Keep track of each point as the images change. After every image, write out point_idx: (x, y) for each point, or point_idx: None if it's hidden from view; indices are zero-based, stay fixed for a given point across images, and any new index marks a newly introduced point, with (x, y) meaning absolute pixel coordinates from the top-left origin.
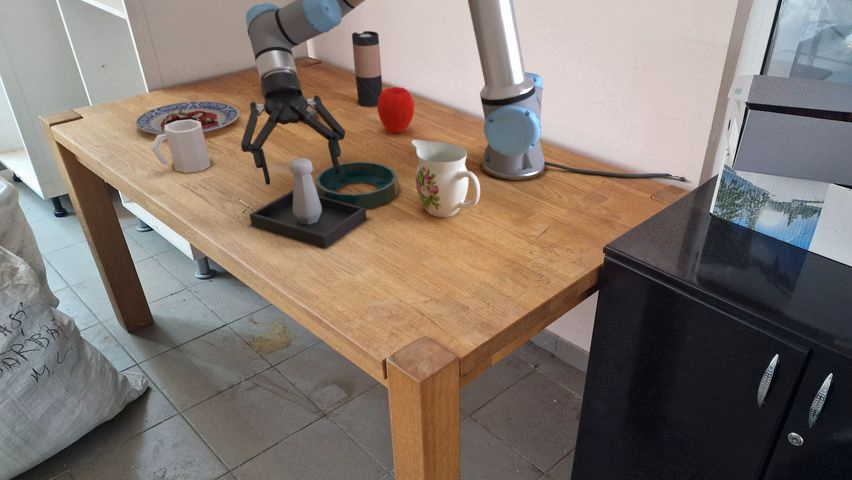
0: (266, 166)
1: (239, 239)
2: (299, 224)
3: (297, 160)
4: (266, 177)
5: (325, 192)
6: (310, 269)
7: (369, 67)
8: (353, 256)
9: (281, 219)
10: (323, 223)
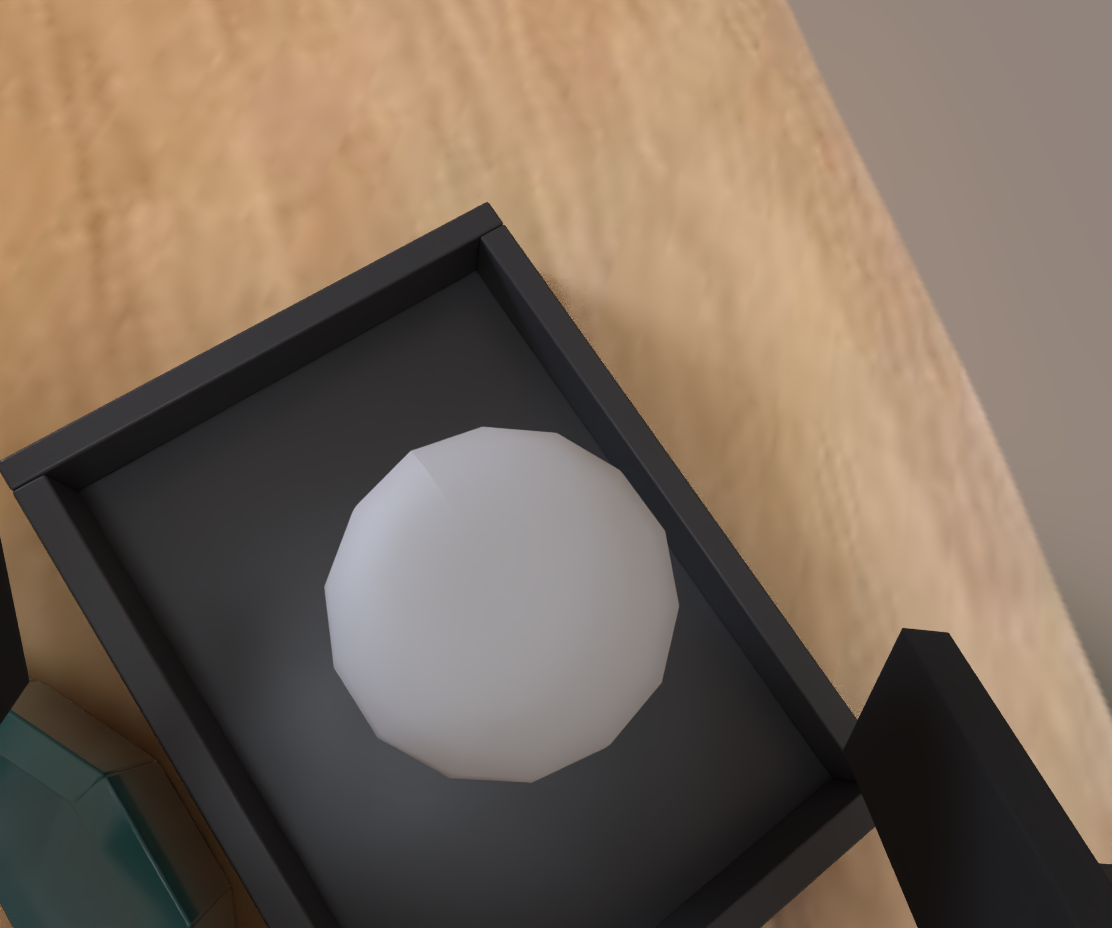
0: (993, 771)
1: (950, 614)
2: None
3: (554, 615)
4: (950, 649)
5: (194, 918)
6: (627, 88)
7: None
8: (359, 86)
9: (656, 740)
10: None
